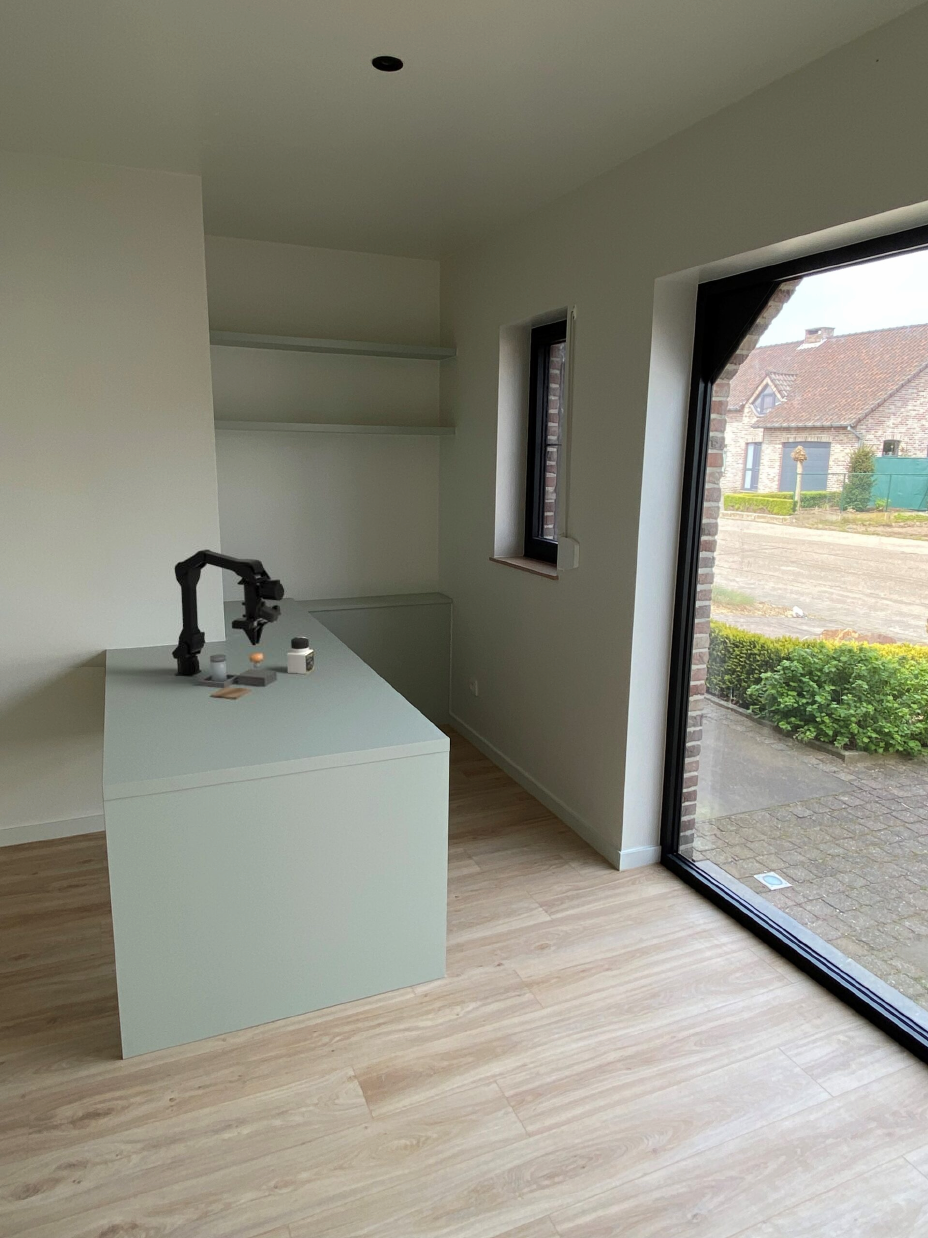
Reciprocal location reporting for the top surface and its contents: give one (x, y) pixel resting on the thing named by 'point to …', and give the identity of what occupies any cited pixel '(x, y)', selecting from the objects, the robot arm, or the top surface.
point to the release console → (257, 677)
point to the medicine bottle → (300, 656)
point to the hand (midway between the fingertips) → (255, 644)
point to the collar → (207, 682)
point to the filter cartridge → (218, 668)
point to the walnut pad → (230, 693)
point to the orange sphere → (256, 659)
